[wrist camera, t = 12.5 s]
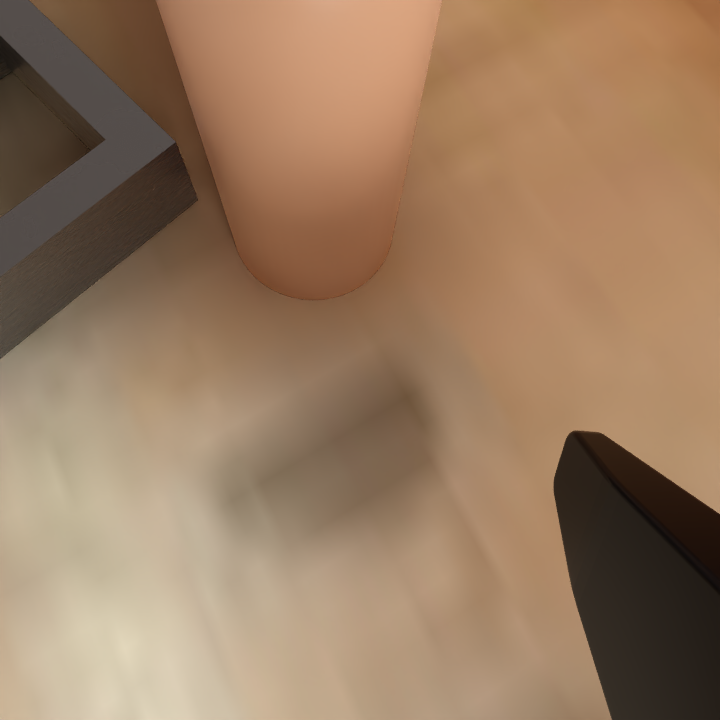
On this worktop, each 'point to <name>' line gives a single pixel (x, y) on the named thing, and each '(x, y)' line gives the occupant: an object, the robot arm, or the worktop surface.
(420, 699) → the worktop surface
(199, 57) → the cylindrical peg
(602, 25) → the worktop surface
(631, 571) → the robot arm
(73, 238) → the collar
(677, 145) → the worktop surface
